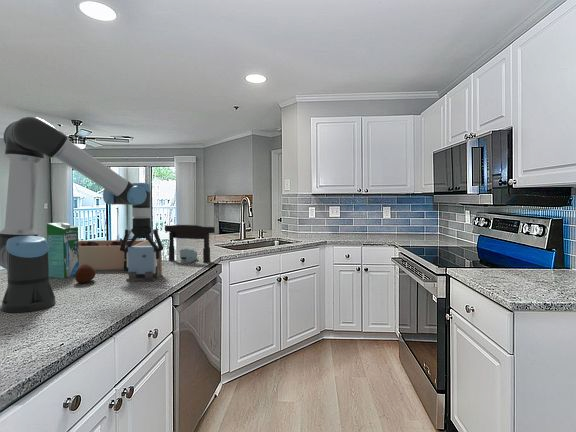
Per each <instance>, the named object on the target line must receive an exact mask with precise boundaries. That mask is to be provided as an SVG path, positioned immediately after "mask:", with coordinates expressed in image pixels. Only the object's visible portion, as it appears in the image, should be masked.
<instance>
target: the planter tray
mask: <svg viewBox="0 0 576 432" xmlns="http://www.w3.org/2000/svg"><path fill="white" fill-rule="evenodd" d="M88 241H89V242H95V243H98V244H99V246H81V244H82V243H85V244H86V242H87V243H88ZM113 241H114V242H115V241H117V242H119V241H120V239H118V240H117V239H113V240H112V239H111V240H109V239H108V240H107V239H106V240H78V252H79V267H80V266H82V265H85V264H86V265H90V266H92V267H93V268H94V270H95V271H97V270H98V271H99V270H101V271H102V270H124V252H123V251H120V247H121V246H111V245H110V244H112V242H113ZM127 241H131V239H128V240H127ZM106 244H108V245H109V246H106ZM133 245H134V246H150V243H149V241H148V240H147V239H140V240H139V239H136V240H135V242H134V243H133ZM125 247H127V246H125Z"/></svg>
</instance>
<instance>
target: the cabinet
mask: <svg viewBox="0 0 576 432" xmlns="http://www.w3.org/2000/svg"><path fill="white" fill-rule="evenodd" d="M157 247H158V245H157ZM158 248H159V247H158ZM162 253H163V252H162V251H160V252H159V259H157V266H156V273H155V274H153V272H145V274H136V272H129V274H128V278H126V279H125V280H126V282H155V281H156V279H159V278H160V277H161V276H162V275H163V271H162V269H163V268H162V266H163V264H162V261H163V260H162Z"/></svg>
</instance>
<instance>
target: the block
mask: <svg viewBox="0 0 576 432" xmlns="http://www.w3.org/2000/svg"><path fill="white" fill-rule="evenodd" d="M154 252H156V251H155V250H154V247H152V245H149V246H131V247H128V271H127V272H128V275H129V272H136V274H145V272H153V274H155V273H156V267H154Z"/></svg>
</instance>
